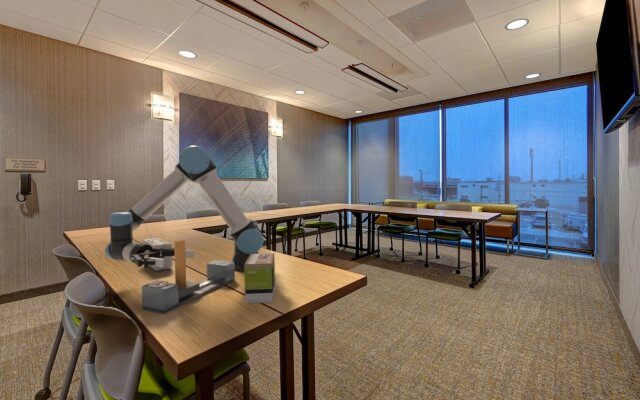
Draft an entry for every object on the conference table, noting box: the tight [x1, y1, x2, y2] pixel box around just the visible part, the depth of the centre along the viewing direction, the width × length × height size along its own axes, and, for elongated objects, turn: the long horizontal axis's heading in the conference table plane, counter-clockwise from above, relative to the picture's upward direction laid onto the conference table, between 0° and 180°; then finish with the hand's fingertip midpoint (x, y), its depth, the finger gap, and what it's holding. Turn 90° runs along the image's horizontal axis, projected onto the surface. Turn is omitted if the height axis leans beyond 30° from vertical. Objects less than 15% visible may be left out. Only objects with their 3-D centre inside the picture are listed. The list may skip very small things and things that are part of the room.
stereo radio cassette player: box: [142, 227, 173, 272], centre depth 150 cm, size 21×8×20 cm, turn 45°
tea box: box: [243, 252, 276, 304], centre depth 112 cm, size 15×10×15 cm, turn 5°
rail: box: [141, 259, 236, 315], centre depth 115 cm, size 36×10×9 cm, turn 158°
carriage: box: [173, 239, 200, 298], centre depth 109 cm, size 10×8×19 cm
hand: (179, 258), depth 108 cm, fingers open, 13 cm apart
